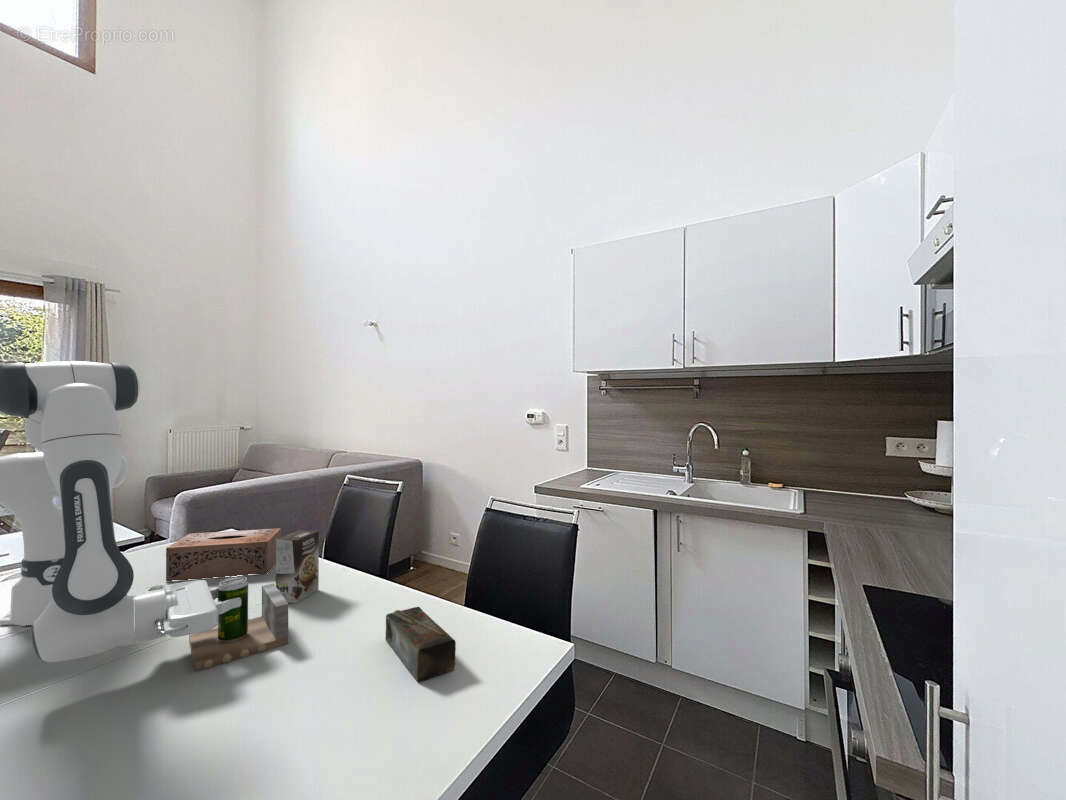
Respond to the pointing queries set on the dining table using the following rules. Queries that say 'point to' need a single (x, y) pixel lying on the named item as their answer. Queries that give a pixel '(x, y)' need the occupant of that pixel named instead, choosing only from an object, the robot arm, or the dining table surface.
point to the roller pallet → (258, 638)
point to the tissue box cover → (222, 554)
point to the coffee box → (297, 565)
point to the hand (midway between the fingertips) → (238, 595)
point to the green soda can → (233, 610)
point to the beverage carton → (420, 643)
